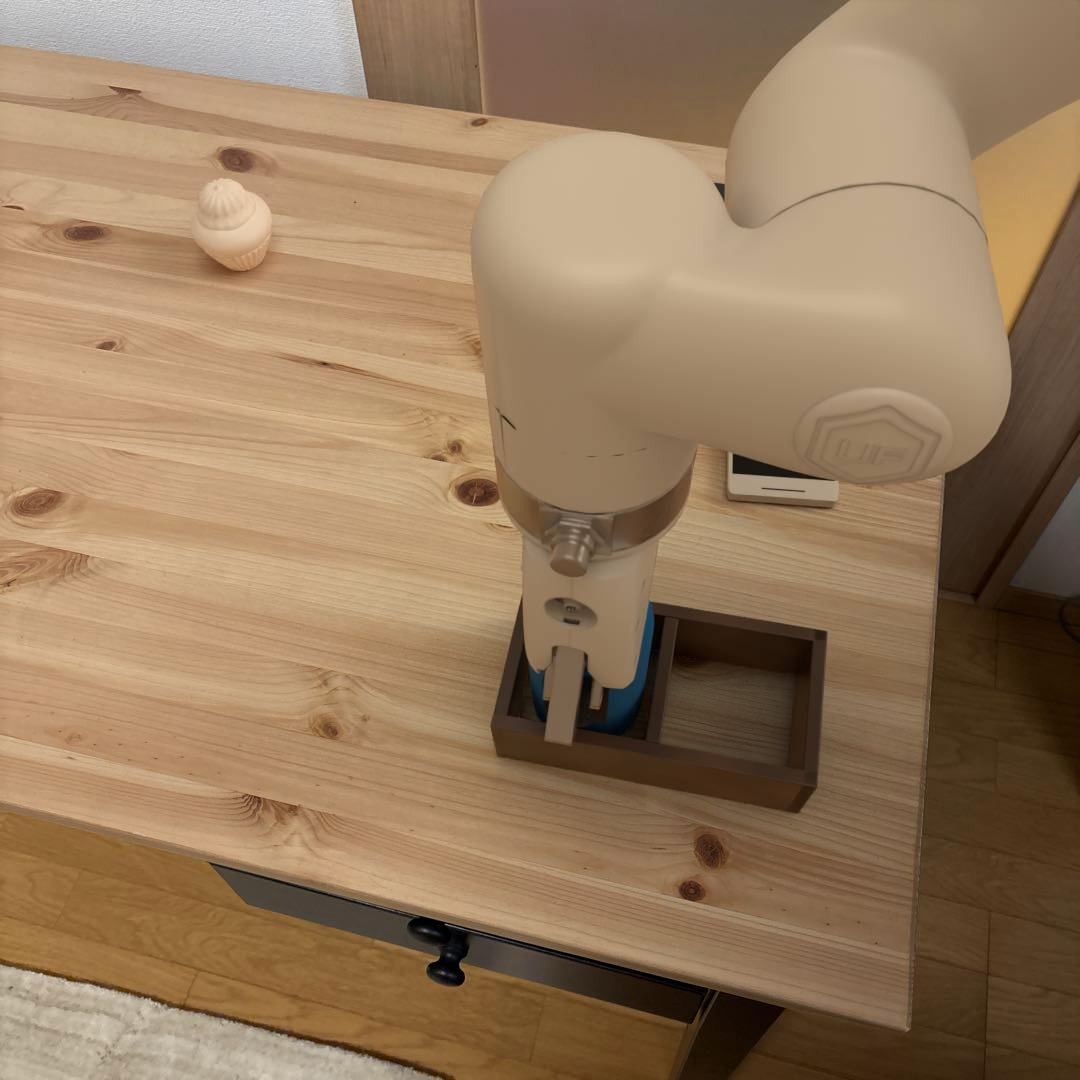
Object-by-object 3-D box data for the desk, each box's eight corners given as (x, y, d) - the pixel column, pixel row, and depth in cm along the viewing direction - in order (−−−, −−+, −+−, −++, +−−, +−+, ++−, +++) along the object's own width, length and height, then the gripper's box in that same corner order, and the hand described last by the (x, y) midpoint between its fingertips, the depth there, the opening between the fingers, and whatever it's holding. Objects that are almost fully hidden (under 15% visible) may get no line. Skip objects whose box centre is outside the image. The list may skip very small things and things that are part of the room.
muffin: (219, 226, 80) (190, 153, 74) (292, 232, 80) (269, 159, 74) (194, 282, 77) (161, 210, 71) (270, 289, 77) (244, 218, 71)
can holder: (809, 665, 60) (828, 630, 56) (798, 813, 55) (817, 787, 51) (528, 617, 62) (525, 579, 58) (496, 756, 58) (490, 726, 53)
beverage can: (628, 639, 61) (639, 540, 51) (652, 739, 58) (669, 655, 47) (524, 657, 61) (513, 561, 50) (542, 759, 57) (535, 679, 47)
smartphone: (828, 329, 73) (831, 320, 72) (836, 508, 65) (840, 500, 64) (729, 323, 73) (730, 314, 73) (726, 500, 66) (727, 492, 65)
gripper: (660, 684, 33) (632, 824, 49) (719, 300, 42) (680, 523, 57) (440, 645, 34) (482, 795, 50) (542, 278, 43) (550, 503, 58)
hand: (588, 648), depth 53 cm, fingers closed on beverage can, 6 cm apart
